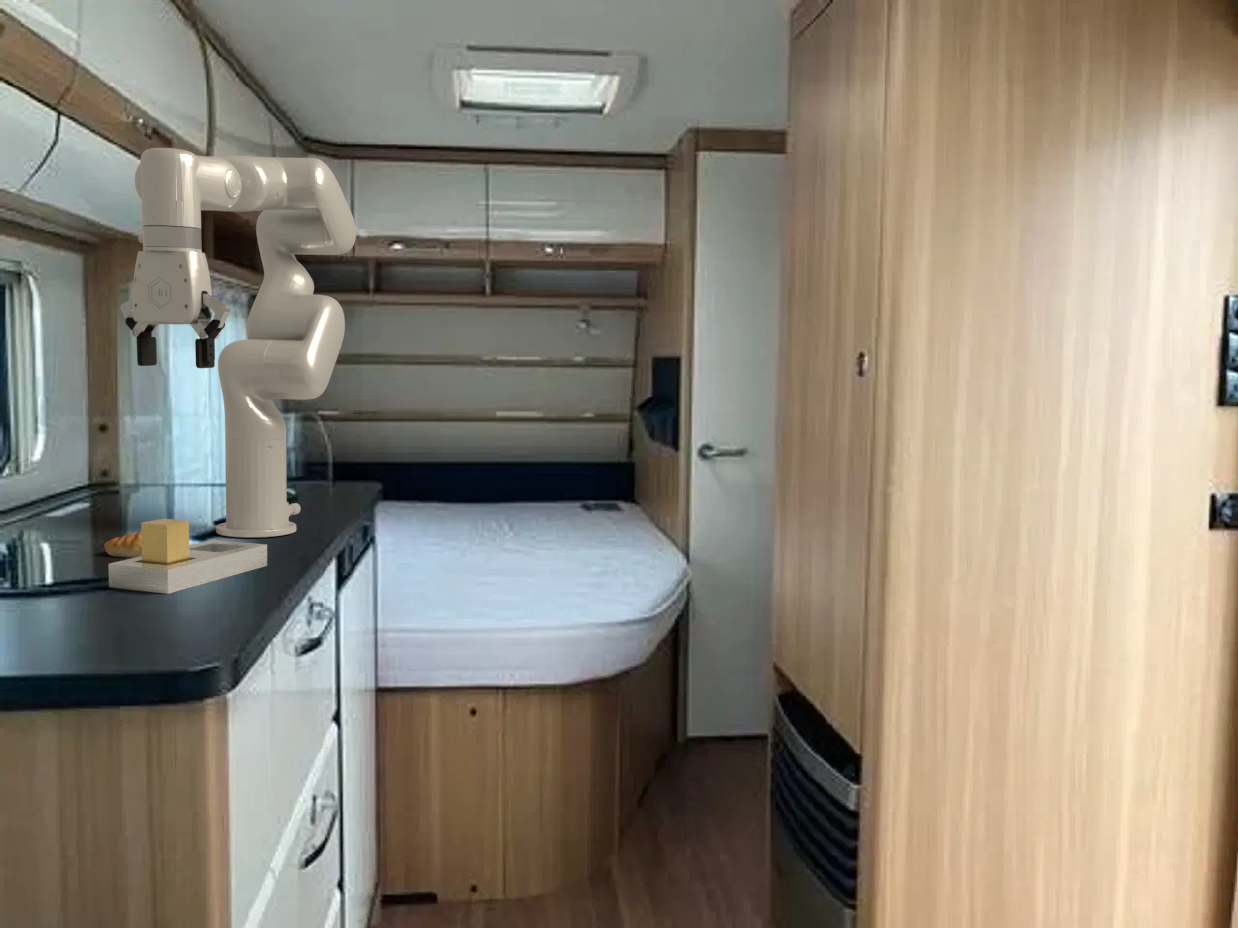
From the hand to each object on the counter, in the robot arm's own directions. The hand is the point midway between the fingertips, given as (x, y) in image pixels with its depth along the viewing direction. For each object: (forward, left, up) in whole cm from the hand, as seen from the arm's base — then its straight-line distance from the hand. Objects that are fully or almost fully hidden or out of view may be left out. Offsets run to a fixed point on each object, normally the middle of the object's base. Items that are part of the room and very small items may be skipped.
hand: (176, 366), depth 154 cm
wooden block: (+13, +9, -28) cm, 32 cm away
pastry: (-2, -8, -28) cm, 29 cm away
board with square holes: (+8, +9, -28) cm, 30 cm away
